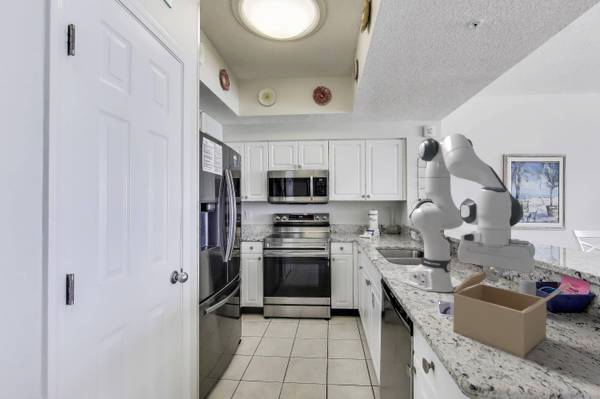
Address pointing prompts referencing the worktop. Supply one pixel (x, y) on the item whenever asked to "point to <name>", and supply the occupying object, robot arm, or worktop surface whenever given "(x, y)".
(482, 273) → the flap
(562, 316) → the worktop surface
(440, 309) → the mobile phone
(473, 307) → the carton
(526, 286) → the beverage can
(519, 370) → the worktop surface
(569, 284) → the flap
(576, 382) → the worktop surface
